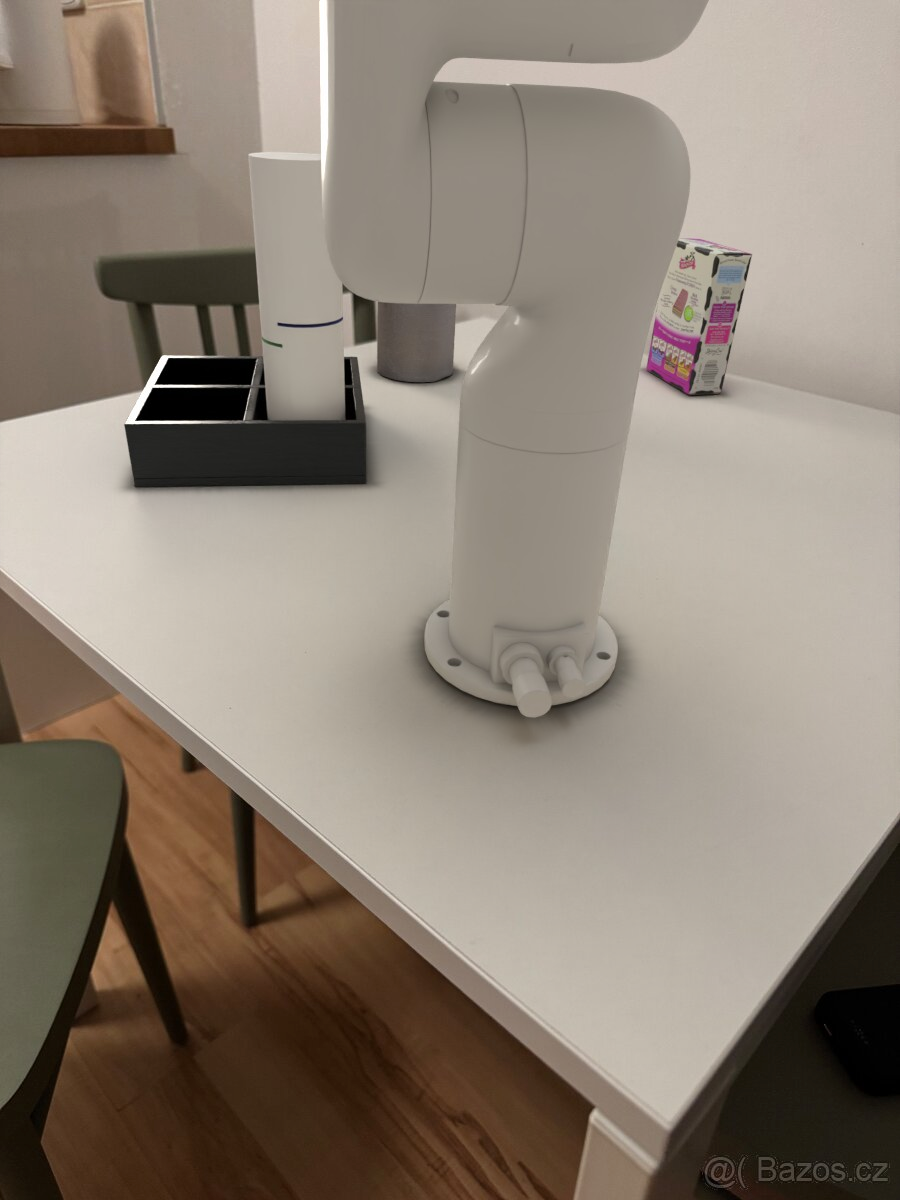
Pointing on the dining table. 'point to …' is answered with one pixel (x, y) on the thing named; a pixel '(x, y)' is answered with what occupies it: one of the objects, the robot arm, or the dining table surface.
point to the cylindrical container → (296, 289)
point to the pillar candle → (415, 341)
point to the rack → (237, 429)
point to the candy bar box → (698, 315)
